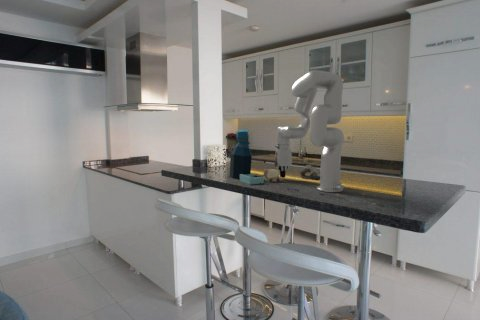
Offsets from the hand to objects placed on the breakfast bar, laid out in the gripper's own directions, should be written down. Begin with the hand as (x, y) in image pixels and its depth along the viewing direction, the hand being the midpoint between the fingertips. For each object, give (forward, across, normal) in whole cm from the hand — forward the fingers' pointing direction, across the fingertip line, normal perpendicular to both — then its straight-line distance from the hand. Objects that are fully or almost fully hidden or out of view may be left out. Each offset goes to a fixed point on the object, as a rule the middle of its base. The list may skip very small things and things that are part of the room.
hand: (282, 177), depth 184 cm
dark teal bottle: (+2, -18, +21) cm, 28 cm away
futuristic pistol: (+2, +18, -6) cm, 19 cm away
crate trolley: (+2, -8, 0) cm, 8 cm away
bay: (+2, -21, 0) cm, 21 cm away
